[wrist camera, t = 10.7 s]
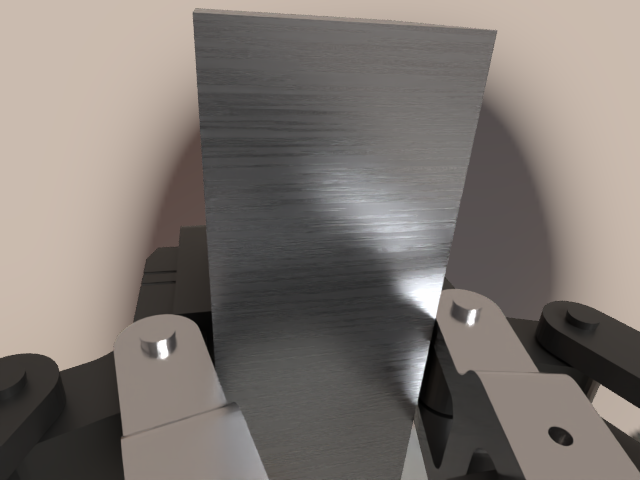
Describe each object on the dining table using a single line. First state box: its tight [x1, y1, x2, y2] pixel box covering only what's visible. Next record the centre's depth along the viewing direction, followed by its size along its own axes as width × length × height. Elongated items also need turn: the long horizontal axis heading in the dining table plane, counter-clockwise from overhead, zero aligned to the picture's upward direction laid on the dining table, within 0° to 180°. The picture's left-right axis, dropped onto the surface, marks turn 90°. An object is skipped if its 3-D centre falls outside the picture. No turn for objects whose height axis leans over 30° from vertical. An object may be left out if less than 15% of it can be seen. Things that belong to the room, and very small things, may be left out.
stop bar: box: [193, 8, 497, 480], centre depth 10 cm, size 4×4×14 cm
